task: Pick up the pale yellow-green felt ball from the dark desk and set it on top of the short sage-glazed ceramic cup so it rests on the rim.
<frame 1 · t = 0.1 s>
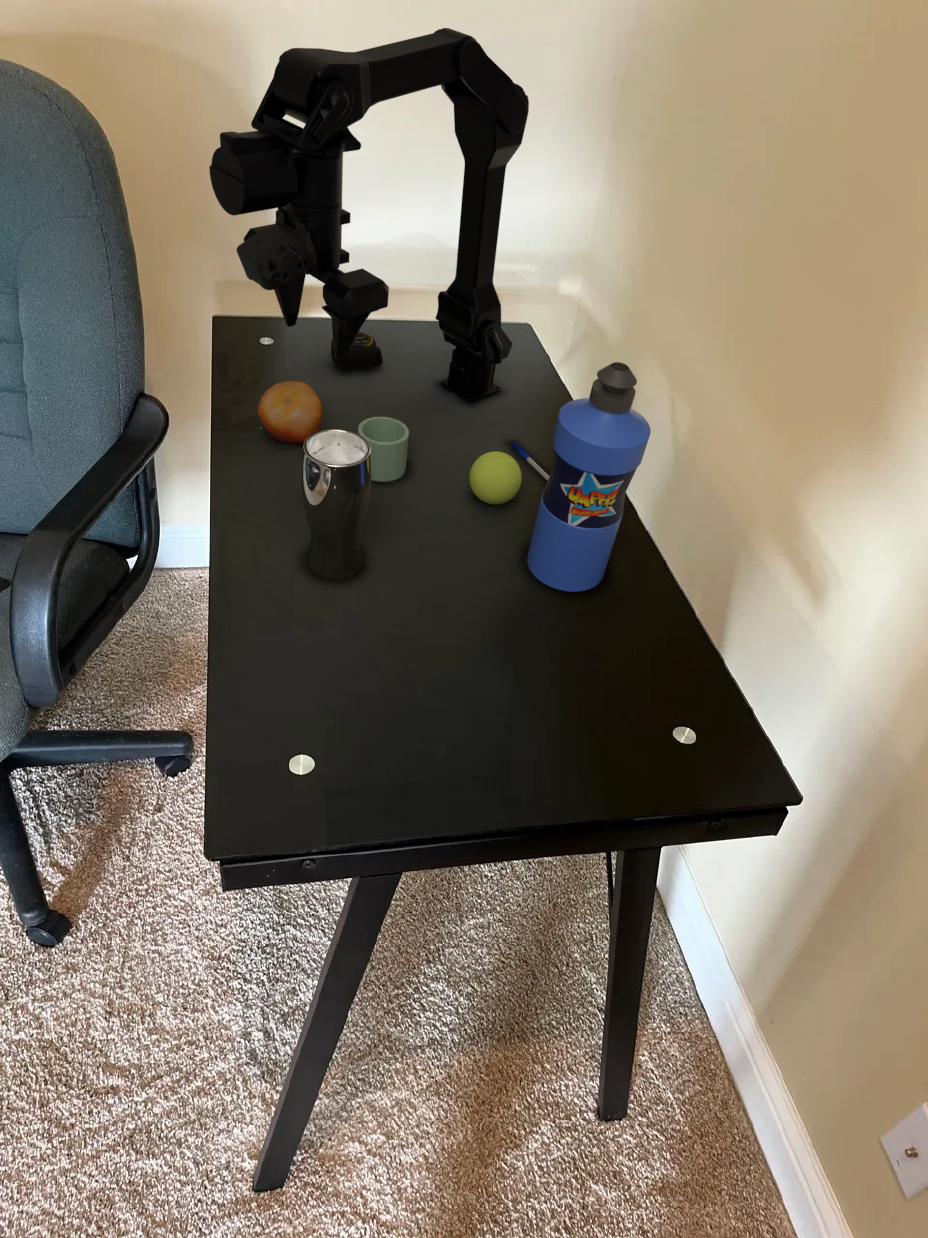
hand: (314, 341, 96), 15 cm above the table, tool pointing down, fingers open, 9 cm apart
ball: (495, 478, 101), point 3 cm above the table
cup: (381, 467, 105), on the table
fruit: (292, 437, 108), on the table
tape measure: (357, 366, 123), on the table
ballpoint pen: (532, 467, 110), on the table
blue squeeze bottle: (565, 566, 96), on the table
metal tumbler: (335, 563, 91), on the table
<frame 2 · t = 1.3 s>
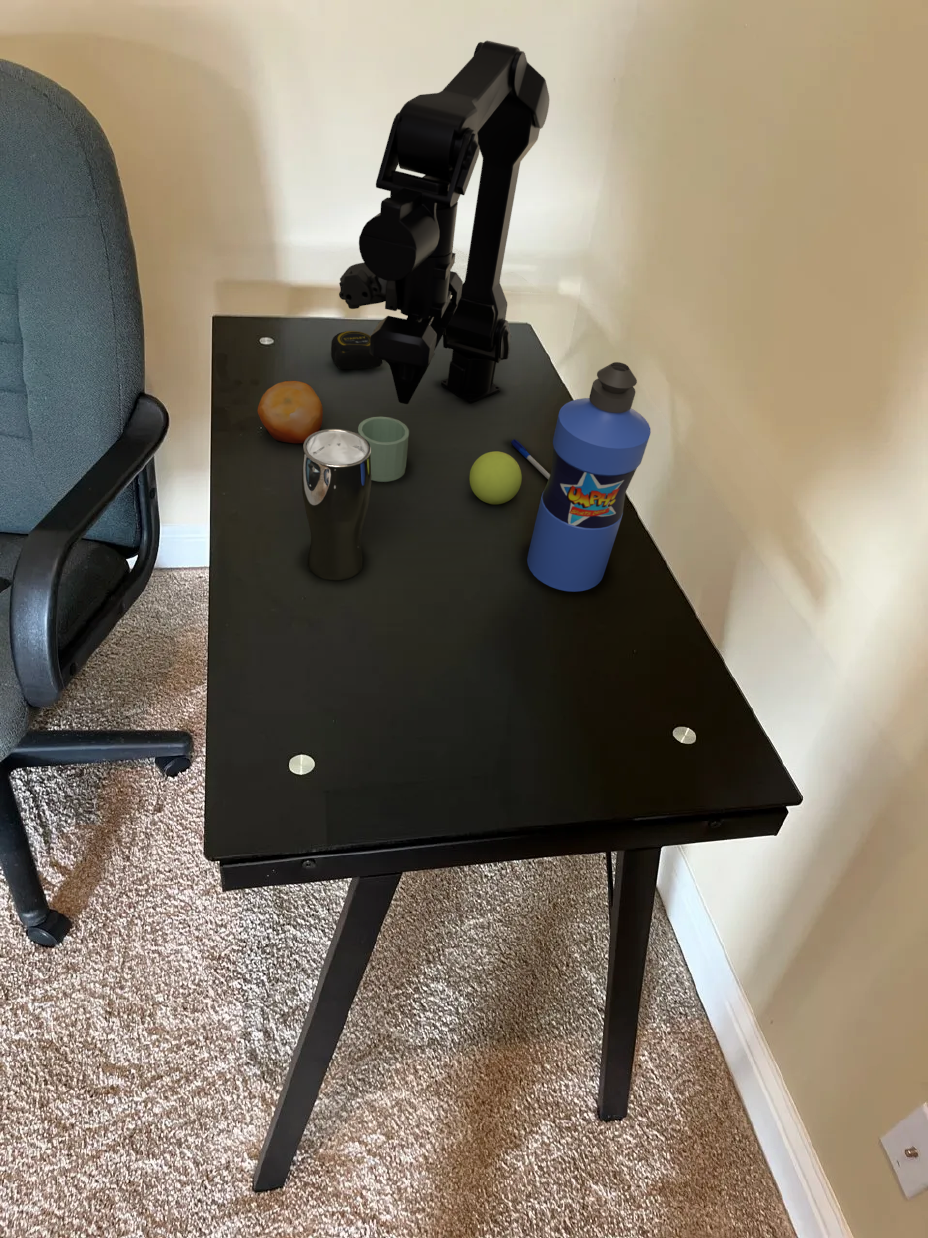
hand: (413, 383, 96), 13 cm above the table, tool pointing down, fingers open, 9 cm apart
nothing on the table moved.
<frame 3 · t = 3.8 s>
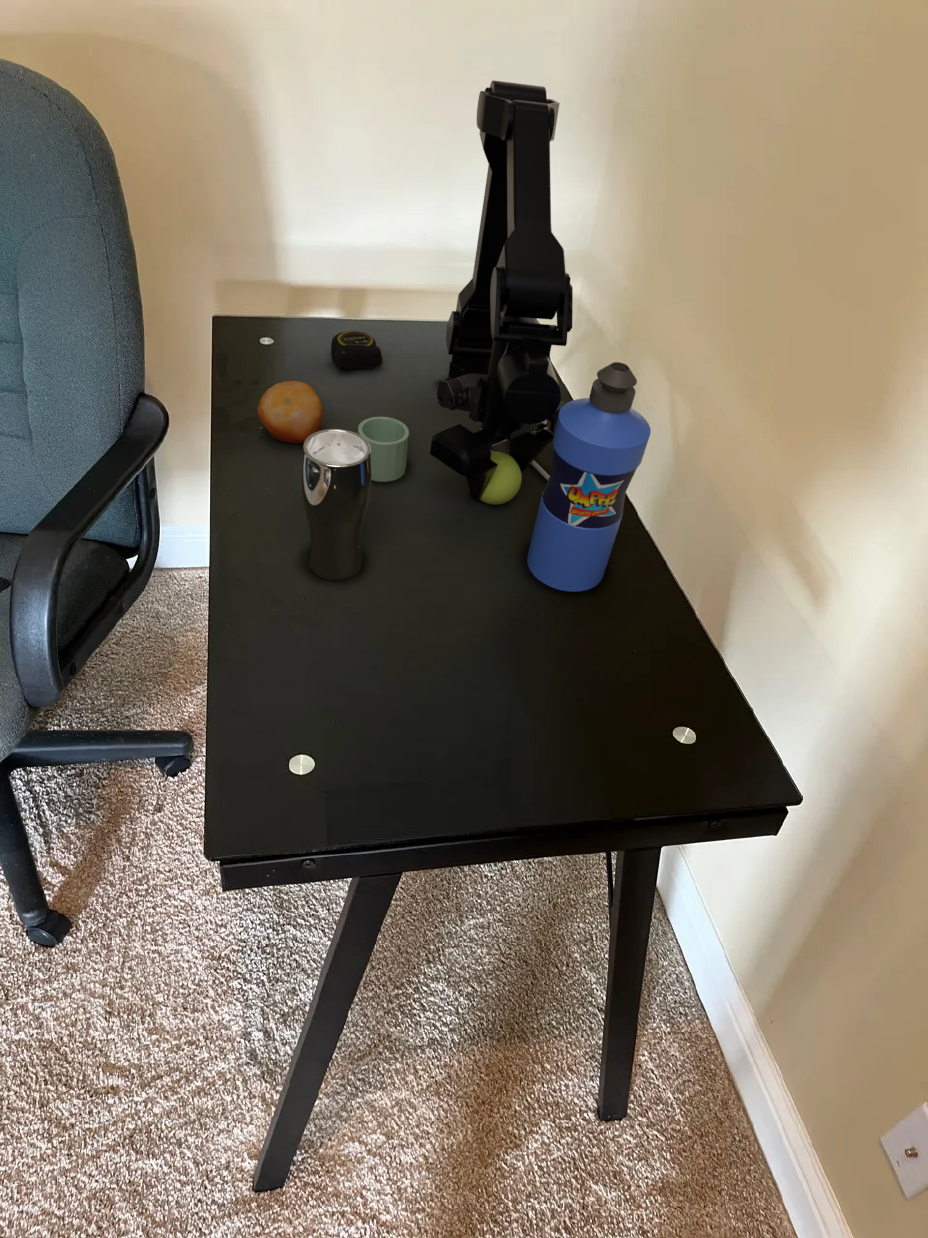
hand: (493, 489, 102), 1 cm above the table, tool pointing down, fingers closed on ball, 6 cm apart
ball: (495, 478, 101), point 3 cm above the table, touching gripper
everything else where it was.
when the fingers open (6 cm above the table, at t = 8.6 s): ball stays where it is, resting on cup.
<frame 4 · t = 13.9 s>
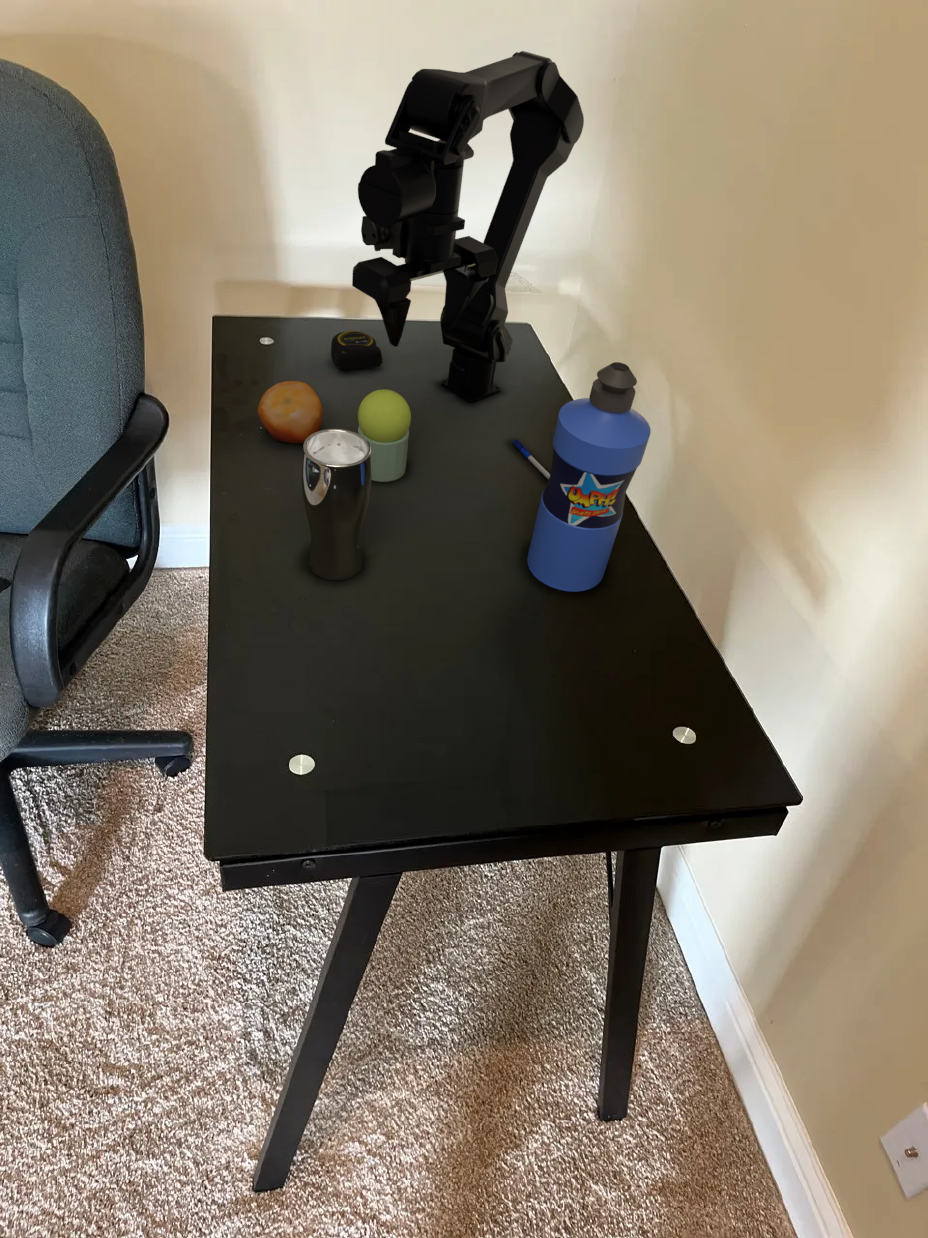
hand: (421, 336, 104), 13 cm above the table, tool pointing down, fingers open, 9 cm apart
ball: (384, 416, 100), point 7 cm above the table, touching cup
cup: (381, 467, 105), on the table, touching ball
everything else where it was.
at the end: ball 0.0 cm off-centre on the cup, point 7.4 cm above the cup's base; cup tilted 0°; the gripper is holding nothing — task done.
